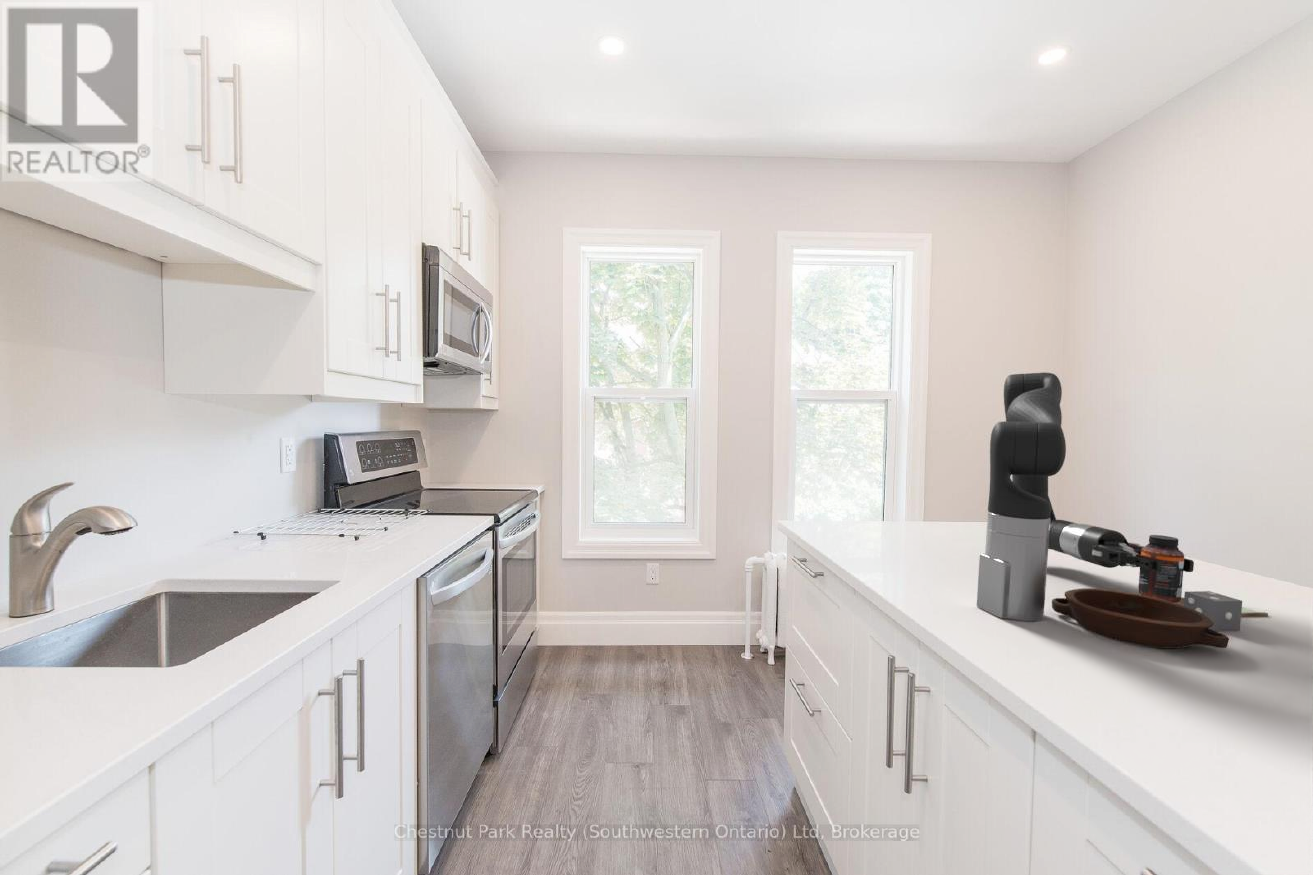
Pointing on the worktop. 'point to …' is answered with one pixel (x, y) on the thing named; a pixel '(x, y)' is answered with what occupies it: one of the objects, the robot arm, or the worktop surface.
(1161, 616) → the dish
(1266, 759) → the worktop surface
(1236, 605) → the die
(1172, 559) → the supplement bottle
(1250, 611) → the board
